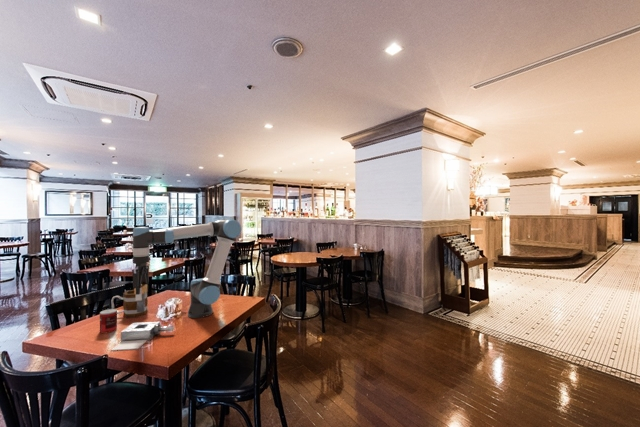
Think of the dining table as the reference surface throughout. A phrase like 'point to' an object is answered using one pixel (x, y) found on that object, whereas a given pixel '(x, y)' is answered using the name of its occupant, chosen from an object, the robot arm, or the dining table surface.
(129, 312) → the mug
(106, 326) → the canned food
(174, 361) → the dining table surface
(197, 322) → the dining table surface
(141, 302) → the key
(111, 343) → the dining table surface
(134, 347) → the rest mat
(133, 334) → the block
